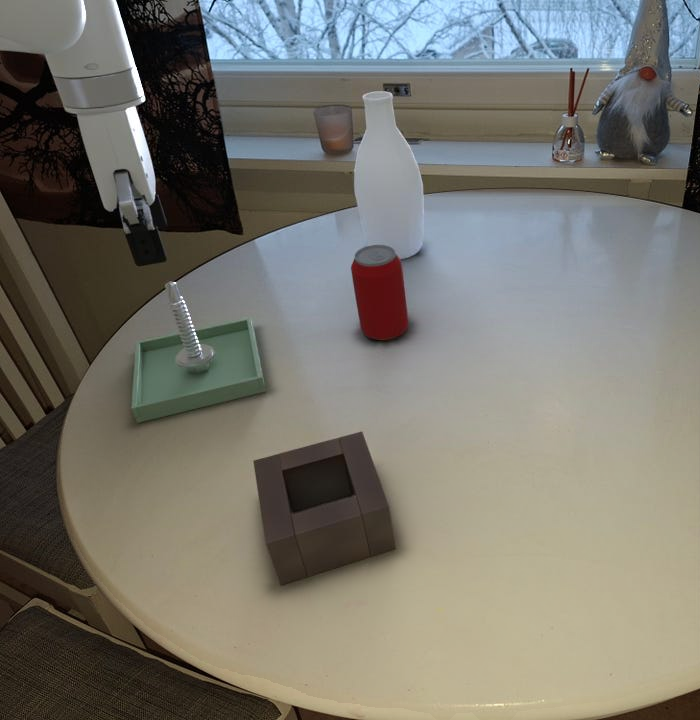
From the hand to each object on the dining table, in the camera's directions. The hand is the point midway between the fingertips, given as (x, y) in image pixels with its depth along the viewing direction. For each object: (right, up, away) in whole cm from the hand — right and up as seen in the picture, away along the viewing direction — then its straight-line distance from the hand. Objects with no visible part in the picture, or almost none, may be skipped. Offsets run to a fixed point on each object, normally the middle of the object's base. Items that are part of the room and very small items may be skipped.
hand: (152, 245), depth 78 cm
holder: (+22, -30, -10) cm, 38 cm away
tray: (+1, -15, +11) cm, 19 cm away
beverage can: (+24, -9, +18) cm, 32 cm away
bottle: (+23, +6, +39) cm, 45 cm away
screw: (+1, -14, +11) cm, 18 cm away
